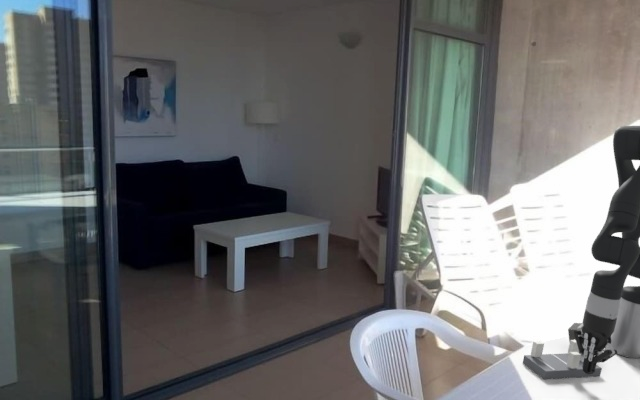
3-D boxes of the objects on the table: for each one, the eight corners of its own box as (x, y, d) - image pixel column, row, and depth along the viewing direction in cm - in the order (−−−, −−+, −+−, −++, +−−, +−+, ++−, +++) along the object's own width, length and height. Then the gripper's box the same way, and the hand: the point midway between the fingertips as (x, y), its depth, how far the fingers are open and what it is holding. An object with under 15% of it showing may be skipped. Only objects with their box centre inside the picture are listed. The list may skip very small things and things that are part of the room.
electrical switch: (583, 360, 162) (586, 329, 161) (564, 355, 165) (567, 325, 164) (590, 351, 169) (593, 322, 168) (573, 346, 172) (575, 318, 171)
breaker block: (576, 360, 161) (578, 352, 160) (599, 376, 152) (601, 367, 152) (522, 363, 155) (524, 354, 154) (544, 379, 146) (546, 371, 146)
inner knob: (574, 352, 159) (577, 339, 158) (578, 355, 158) (581, 342, 157) (567, 352, 158) (570, 340, 158) (571, 355, 157) (574, 342, 156)
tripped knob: (573, 365, 151) (576, 351, 150) (578, 368, 149) (580, 354, 148) (566, 365, 150) (569, 352, 149) (570, 368, 148) (573, 354, 148)
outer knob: (537, 354, 155) (540, 341, 154) (541, 356, 154) (544, 343, 153) (530, 354, 154) (533, 341, 154) (534, 357, 153) (537, 343, 152)
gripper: (571, 301, 146) (558, 361, 149) (610, 322, 134) (595, 386, 137) (593, 301, 149) (580, 360, 152) (633, 321, 136) (618, 385, 139)
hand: (587, 372), depth 144 cm, fingers closed
